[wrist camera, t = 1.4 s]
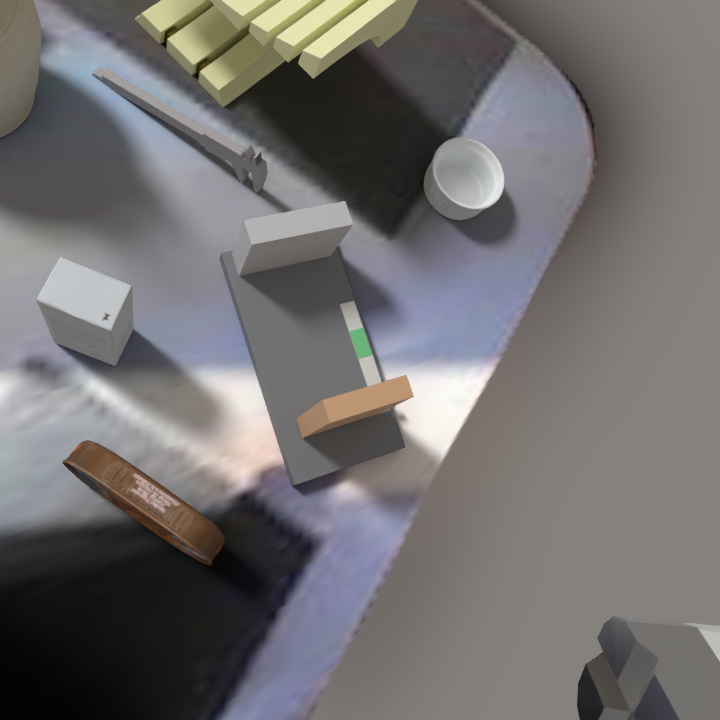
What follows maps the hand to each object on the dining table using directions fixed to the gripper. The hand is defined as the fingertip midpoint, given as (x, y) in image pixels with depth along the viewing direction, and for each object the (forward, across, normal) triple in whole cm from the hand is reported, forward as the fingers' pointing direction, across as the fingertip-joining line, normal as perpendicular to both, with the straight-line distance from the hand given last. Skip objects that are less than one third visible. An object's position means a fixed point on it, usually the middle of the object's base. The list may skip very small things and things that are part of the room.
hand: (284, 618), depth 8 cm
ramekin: (+74, +18, -6) cm, 77 cm away
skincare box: (+54, -17, -22) cm, 61 cm away
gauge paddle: (+53, +8, -26) cm, 60 cm away
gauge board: (+58, +4, -22) cm, 62 cm away
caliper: (+70, -14, -5) cm, 71 cm away
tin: (+46, -10, -34) cm, 58 cm away
